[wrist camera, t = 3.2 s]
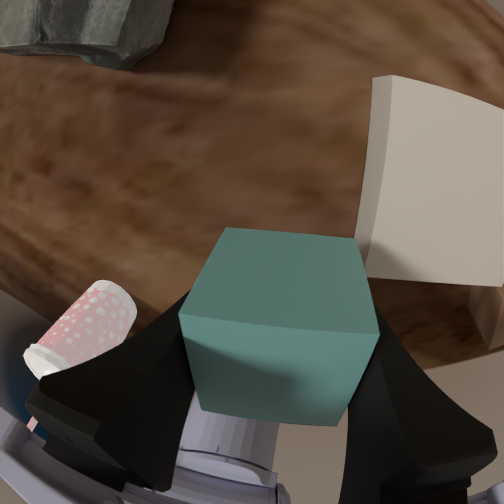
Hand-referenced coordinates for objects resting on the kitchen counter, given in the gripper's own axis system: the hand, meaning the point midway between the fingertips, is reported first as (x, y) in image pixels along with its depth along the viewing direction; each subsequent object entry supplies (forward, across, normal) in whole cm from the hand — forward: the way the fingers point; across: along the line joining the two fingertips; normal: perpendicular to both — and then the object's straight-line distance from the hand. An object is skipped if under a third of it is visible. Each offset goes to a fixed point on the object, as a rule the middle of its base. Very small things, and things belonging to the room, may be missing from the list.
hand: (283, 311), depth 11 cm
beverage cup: (+7, +14, +8) cm, 18 cm away
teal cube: (+2, 0, 0) cm, 2 cm away
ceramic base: (+7, -8, -4) cm, 11 cm away
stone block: (+7, +13, -15) cm, 21 cm away
